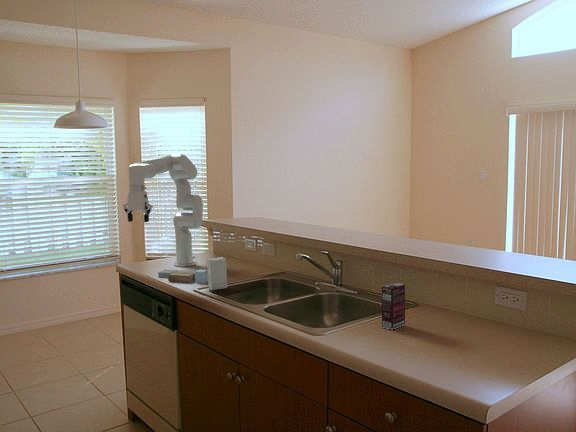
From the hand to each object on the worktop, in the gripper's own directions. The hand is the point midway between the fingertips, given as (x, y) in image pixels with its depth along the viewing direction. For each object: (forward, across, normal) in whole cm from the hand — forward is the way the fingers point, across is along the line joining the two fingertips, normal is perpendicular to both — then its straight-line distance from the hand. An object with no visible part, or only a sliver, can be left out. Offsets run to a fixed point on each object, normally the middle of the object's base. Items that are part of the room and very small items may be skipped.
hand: (138, 221), depth 272 cm
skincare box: (+31, -46, +3) cm, 56 cm away
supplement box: (+31, -136, +39) cm, 145 cm away
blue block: (+31, -32, -7) cm, 45 cm away
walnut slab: (+32, -21, -9) cm, 39 cm away
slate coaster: (+32, -8, -15) cm, 36 cm away
